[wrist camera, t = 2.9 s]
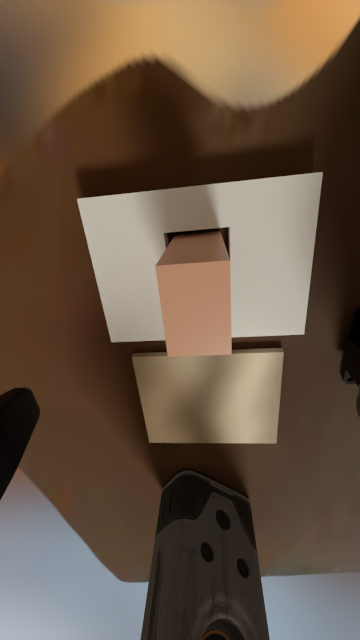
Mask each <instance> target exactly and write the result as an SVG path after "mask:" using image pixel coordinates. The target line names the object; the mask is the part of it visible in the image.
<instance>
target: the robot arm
mask: <svg viewBox="0 0 360 640" xmlns="http://www.w3.org/2000/svg"><path fill="white" fill-rule="evenodd" d="M342 366H343V372H342V379H343V381H344V382H345V383H346V384H357V385H358V386H359V390H358V394H357V399H356V410H357V413H358V416H359V418H360V308H359V309H357V310H356V311H355V313H354V317H353V322H352V327H351V332H350V335H349V337H348V338H347V342H346V347H345V352H344V357H343V362H342ZM349 377H351V378H349ZM348 378H349V379H348ZM39 415H40V408H39V406H38V404H37V401H36V399H35V397H34V394H33V392H32V390H31V389H29V388H14V389H11V390H10V391H8V392H6V393H4V394H2V395H0V500H1V498H2V496H3V494H4V492H5V490H6V489H7V487H8V485H9V483H10V481H11V479H12V477H13V475H14V473H15V471H16V469H17V467H18V465H19V463H20V461H21V458H22V456H23V454H24V451H25V449H26V447H27V444H28V442H29V440H30V437H31V435H32V433H33V430H34V428H35V426H36V423H37V421H38V419H39Z"/></svg>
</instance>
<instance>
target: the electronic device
mask: <svg viewBox="0 0 360 640" xmlns="http://www.w3.org/2000/svg"><path fill="white" fill-rule="evenodd" d="M141 640H270V639H269V632H268V625H267V618H266V612H265V604H264V597H263V590H262V583H261V576H260V569H259V562H258V555H257V548H256V541H255V534H254V527H253V520H252V513H251V505H250V501H249V500H248V499H247V498H246V497H245V496H243V495H242V494H240V493H238V492H236V491H234V490H232V489H230V488H228V487H226V486H224V485H222V484H220V483H218V482H216V481H214V480H212V479H210V478H208V477H206V476H204V475H202V474H200V473H197V472H195V471H191V470H185V471H182V472H180V473H179V474H177V475H176V476H175V477H174V478H173V479H172V480H171V481H170V482H169V483H168V484H167V485H166V486H165V487H164V488H163V489H162V495H161V502H160V509H159V516H158V522H157V529H156V536H155V544H154V551H153V558H152V565H151V571H150V578H149V585H148V592H147V599H146V607H145V613H144V620H143V627H142V634H141Z"/></svg>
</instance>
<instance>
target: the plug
mask: <svg viewBox="0 0 360 640" xmlns="http://www.w3.org/2000/svg"><path fill="white" fill-rule="evenodd" d="M155 268H156V276H157V283H158V290H159V297H160V304H161V311H162V319H163V326H164V333H165V340H166V347H167V355H168V357H177V356H205V355H232V341H231V281H230V258H229V255H228V253H227V250H226V247H225V244H224V241H223V238H222V235H221V232H220V231H215V232H204V233H193V234H182V235H175V236H174V237H173V239H172V241H171V242H170V244H169V245H168V247H167V248H166V250H165V251H164V253H163V255H162V256H161V258H160V259H159V261H158V262H157V264H156V265H155Z"/></svg>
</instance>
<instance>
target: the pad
mask: <svg viewBox="0 0 360 640" xmlns="http://www.w3.org/2000/svg"><path fill="white" fill-rule="evenodd" d="M283 356H284V351H283V349H282V348H265V349H237V350H232V355H205V356H177V357H168V355H167V352H155V353H133V355H132V361H133V366H134V371H135V376H136V381H137V385H138V390H139V395H140V400H141V405H142V409H143V414H144V419H145V424H146V429H147V433H148V438H149V443H276V441H277V429H278V417H279V404H280V392H281V380H282V368H283Z"/></svg>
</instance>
